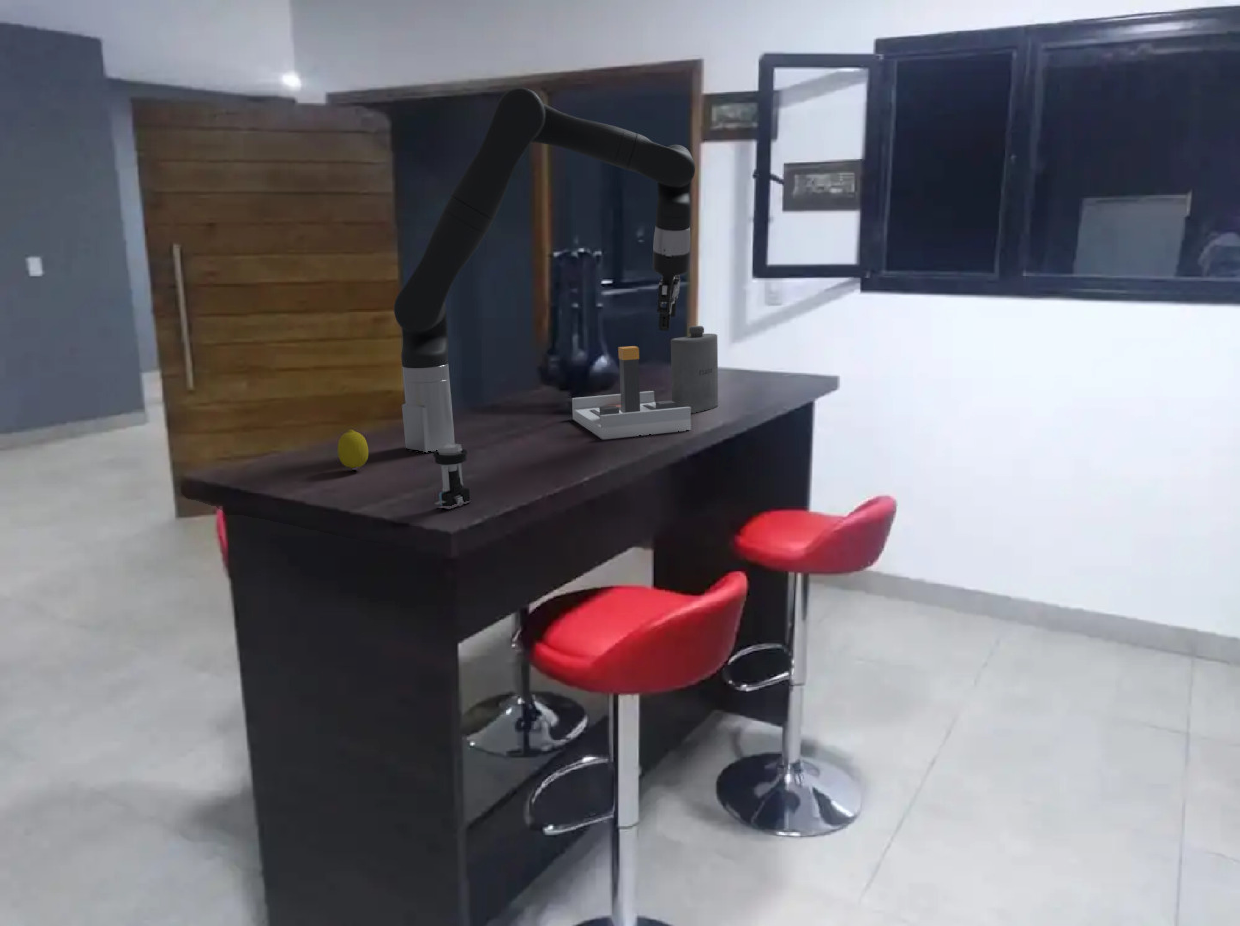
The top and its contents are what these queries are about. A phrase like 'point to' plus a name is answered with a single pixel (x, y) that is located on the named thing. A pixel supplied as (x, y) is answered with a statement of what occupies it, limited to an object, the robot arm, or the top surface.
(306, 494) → the top surface
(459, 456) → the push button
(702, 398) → the flask
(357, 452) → the lemon
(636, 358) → the handle
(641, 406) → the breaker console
